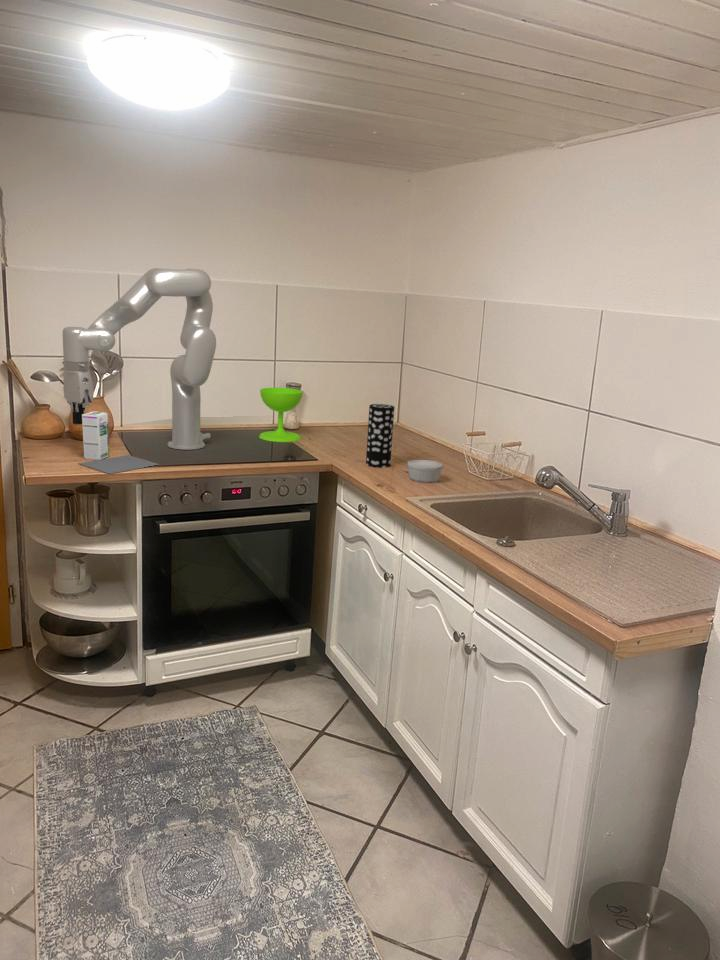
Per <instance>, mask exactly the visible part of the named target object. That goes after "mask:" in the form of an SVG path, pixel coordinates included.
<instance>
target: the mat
mask: <svg viewBox="0 0 720 960" xmlns="http://www.w3.org/2000/svg"><path fill="white" fill-rule="evenodd" d="M79 464H80V466H83V467H86V468H89V469H91V470H92V469H93V470H95V471H98V472H102V473H104V474H108V475H112V474H119V473H125V472H130V471H135V470H141V469H145V468H144V467H147V468H149V467H148V466H152V467H155V466H154V465H158V466H160V464H159V463H156V462H153V461H150V460H147V459H143V458H140V457H136V456H133V455H129V454H126V455H121V456H120V455H119V456H115V457H106V458H104V459H101V460H90V461H83V462H79V463H78V465H79ZM140 468H141V469H140Z"/></svg>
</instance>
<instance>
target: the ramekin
mask: <svg viewBox="0 0 720 960" xmlns="http://www.w3.org/2000/svg"><path fill="white" fill-rule="evenodd" d="M407 468H408V469H407V470H408V477H409V479H410V480H411V481H413V482H417V483H422V484H423V483H424V484H425V483H427V484H433V483H437V482H438V481H439V480H440V478H441V474H442V473H441V472H442V470H443V464H442V463H441V462H439V461H436V460H430V459H429V460H427V459H413V460H408V461H407Z"/></svg>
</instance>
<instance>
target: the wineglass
mask: <svg viewBox="0 0 720 960" xmlns="http://www.w3.org/2000/svg"><path fill="white" fill-rule="evenodd" d="M259 391H260V397H261V399H262V402H263V404H265V406H266V407H268V408H269V409H270V410H272V411H275V412H278V413H277V414H278V415H277V416H278V417H277V429H276V430H271V431H263V432H261V433H260V434H259V436H258V437H259V439H261V440H264V441H269V442H278V443H290V442H297V441H300V440H301V439H302V437H301V435H299V433H296V432H292V431H286V430H285V429H284V413H285V412H290V411H291V410H293V409H295V408H296V407H297V406H298V405H299V403H300V402H301V400H302V398H303V391H302V390H301V389H298V388H297V389H296V388H290V387H289V388H288V387H265V388H260V390H259Z"/></svg>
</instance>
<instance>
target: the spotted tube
mask: <svg viewBox="0 0 720 960" xmlns="http://www.w3.org/2000/svg"><path fill="white" fill-rule="evenodd" d="M368 410H369V411H368V423H367V438H366V439H367V440H366V453H365V455H366V457H365V465H366V466H367V467H371V468H378V469H380V468H381V469H383V468H384V469H385V468H390V467H391V459H392V447H393V436H394V435H393V434H394V419H395V406H394V405H392V404H391V405H390V404H382V403H373V404H369V409H368Z"/></svg>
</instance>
